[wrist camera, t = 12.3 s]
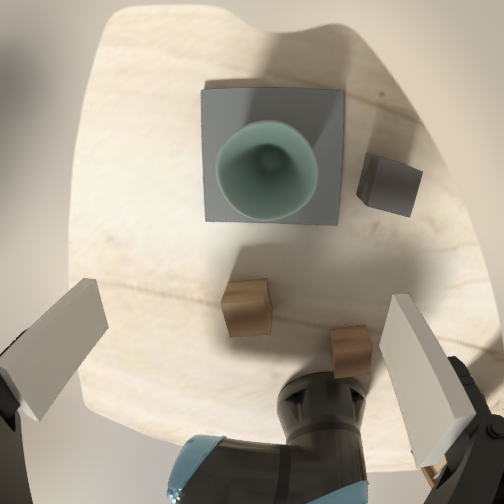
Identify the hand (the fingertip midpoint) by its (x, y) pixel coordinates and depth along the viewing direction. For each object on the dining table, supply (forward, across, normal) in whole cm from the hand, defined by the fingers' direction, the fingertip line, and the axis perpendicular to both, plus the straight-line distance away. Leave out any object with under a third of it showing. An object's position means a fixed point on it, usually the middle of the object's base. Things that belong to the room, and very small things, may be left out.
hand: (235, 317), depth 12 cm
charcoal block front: (+23, -13, -3) cm, 27 cm away
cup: (+22, -1, -5) cm, 23 cm away
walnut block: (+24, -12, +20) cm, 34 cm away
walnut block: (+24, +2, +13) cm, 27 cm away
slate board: (+23, -1, -5) cm, 24 cm away
